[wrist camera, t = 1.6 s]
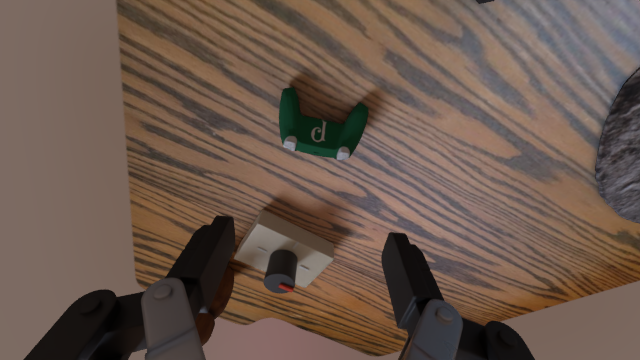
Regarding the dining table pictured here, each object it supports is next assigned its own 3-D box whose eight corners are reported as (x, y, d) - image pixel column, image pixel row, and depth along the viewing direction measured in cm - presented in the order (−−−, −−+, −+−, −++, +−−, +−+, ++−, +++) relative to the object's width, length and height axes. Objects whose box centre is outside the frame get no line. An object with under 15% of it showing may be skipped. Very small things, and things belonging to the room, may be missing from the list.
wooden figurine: (229, 286, 43) (189, 395, 30) (197, 275, 41) (140, 384, 28) (244, 265, 40) (206, 375, 27) (210, 251, 38) (153, 362, 25)
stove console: (239, 243, 37) (233, 260, 35) (263, 208, 34) (257, 223, 31) (306, 272, 40) (304, 289, 38) (333, 242, 37) (334, 259, 34)
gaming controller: (283, 101, 28) (273, 150, 26) (283, 81, 24) (271, 136, 23) (360, 118, 29) (354, 166, 27) (371, 101, 25) (365, 155, 24)
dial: (264, 261, 35) (257, 288, 31) (277, 245, 33) (272, 271, 29) (289, 272, 36) (285, 299, 32) (302, 256, 34) (300, 283, 30)
